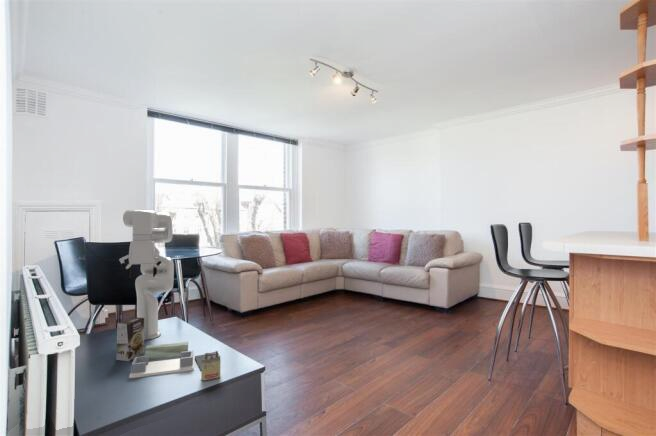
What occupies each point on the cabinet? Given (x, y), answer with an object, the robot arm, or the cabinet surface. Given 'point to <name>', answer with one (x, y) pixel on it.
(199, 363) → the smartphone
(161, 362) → the bracket board
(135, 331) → the coffee box
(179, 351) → the rail
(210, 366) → the worn yellow tin
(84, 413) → the cabinet surface
